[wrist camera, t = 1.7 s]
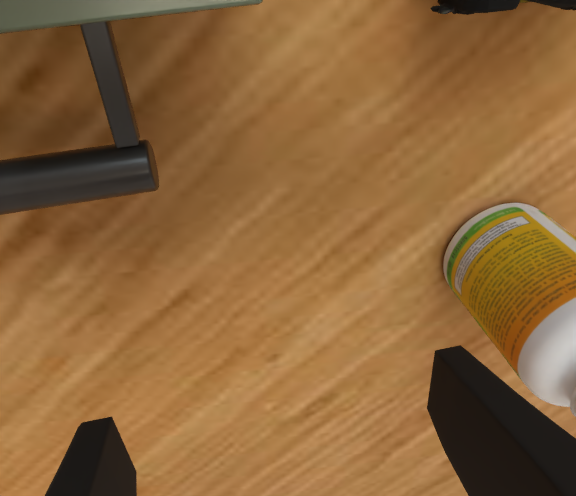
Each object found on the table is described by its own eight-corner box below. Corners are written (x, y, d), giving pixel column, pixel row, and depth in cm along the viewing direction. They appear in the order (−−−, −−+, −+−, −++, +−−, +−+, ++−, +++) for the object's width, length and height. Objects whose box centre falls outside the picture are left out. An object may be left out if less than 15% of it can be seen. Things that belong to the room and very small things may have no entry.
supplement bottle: (422, 289, 24) (546, 469, 16) (469, 191, 21) (645, 351, 13) (512, 296, 25) (665, 465, 17) (566, 207, 23) (776, 358, 15)
